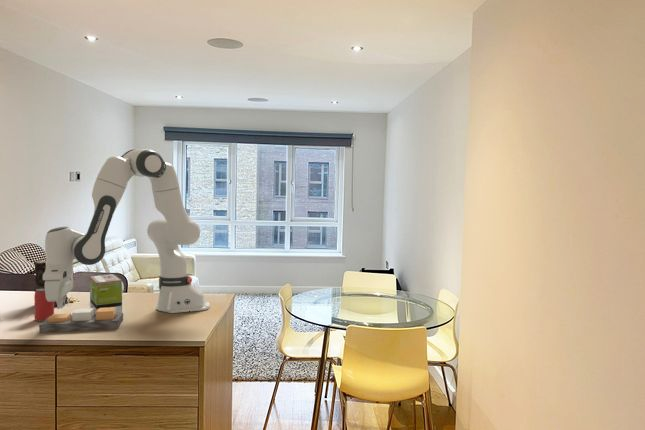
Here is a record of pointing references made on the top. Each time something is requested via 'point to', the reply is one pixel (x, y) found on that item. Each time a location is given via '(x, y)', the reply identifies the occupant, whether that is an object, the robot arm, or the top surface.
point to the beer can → (42, 305)
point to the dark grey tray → (81, 325)
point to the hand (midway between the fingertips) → (61, 307)
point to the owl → (39, 281)
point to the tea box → (106, 292)
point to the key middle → (83, 314)
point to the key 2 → (106, 313)
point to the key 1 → (59, 317)
